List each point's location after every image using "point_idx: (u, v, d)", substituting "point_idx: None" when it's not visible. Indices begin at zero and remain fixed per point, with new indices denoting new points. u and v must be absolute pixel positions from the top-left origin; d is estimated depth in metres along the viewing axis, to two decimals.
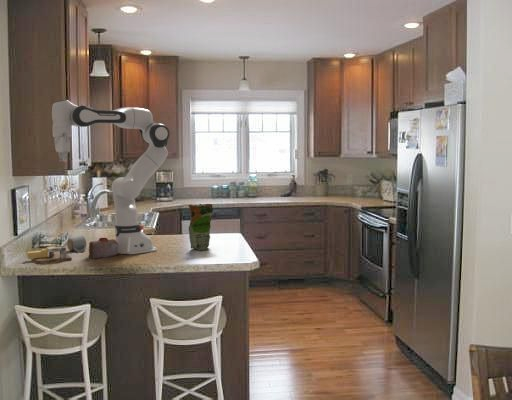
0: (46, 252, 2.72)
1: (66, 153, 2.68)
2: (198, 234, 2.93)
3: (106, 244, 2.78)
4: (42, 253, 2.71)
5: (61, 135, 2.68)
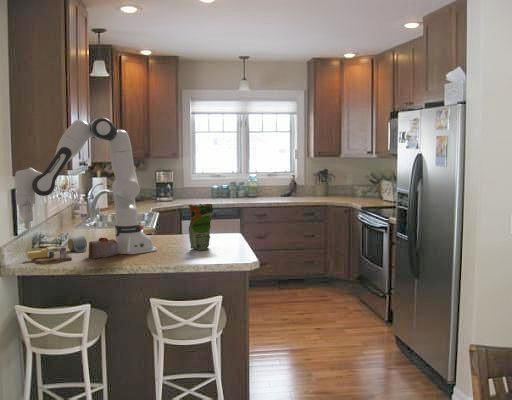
0: (46, 252, 2.72)
1: (28, 220, 2.72)
2: (198, 234, 2.93)
3: (106, 244, 2.78)
4: (42, 253, 2.71)
5: (24, 203, 2.69)
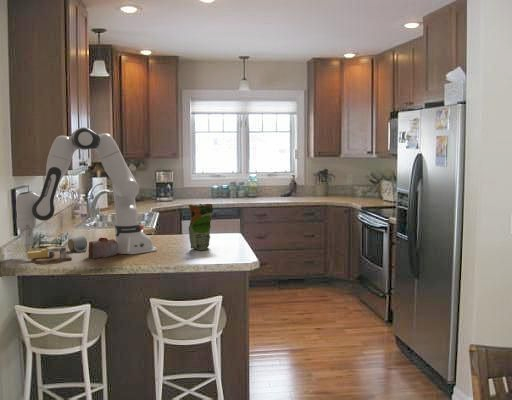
0: (46, 252, 2.72)
1: None
2: (198, 234, 2.93)
3: (106, 244, 2.78)
4: (42, 253, 2.71)
5: (25, 227, 2.70)
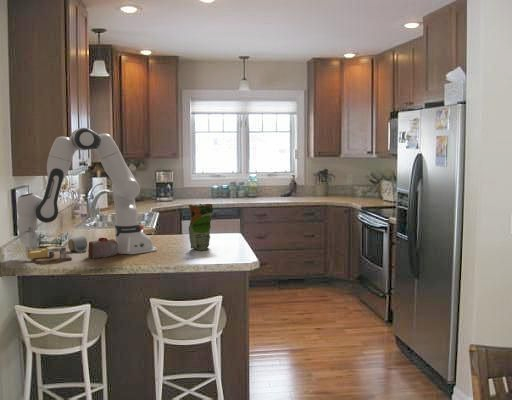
0: (46, 252, 2.72)
1: None
2: (198, 234, 2.93)
3: (105, 244, 2.78)
4: (42, 253, 2.71)
5: (27, 230, 2.67)
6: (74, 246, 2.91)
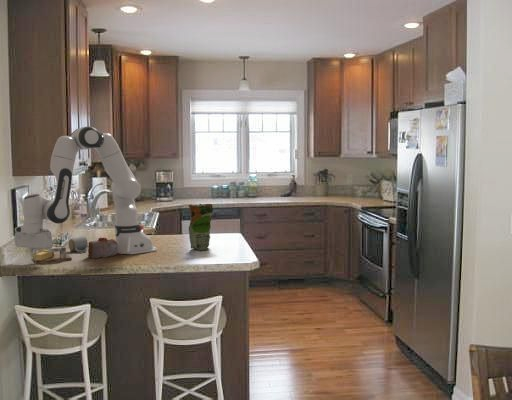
0: (51, 252, 2.72)
1: (37, 248, 2.65)
2: (198, 234, 2.93)
3: (105, 244, 2.78)
4: (49, 253, 2.70)
5: (38, 231, 2.62)
6: (74, 246, 2.91)
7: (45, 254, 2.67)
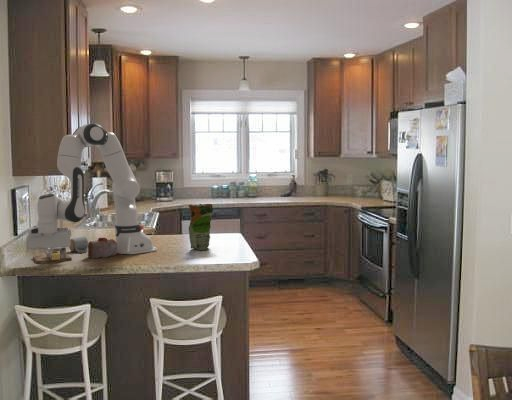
0: None
1: None
2: (198, 234, 2.93)
3: (105, 244, 2.78)
4: None
5: (57, 230, 2.64)
6: (75, 246, 2.90)
7: None
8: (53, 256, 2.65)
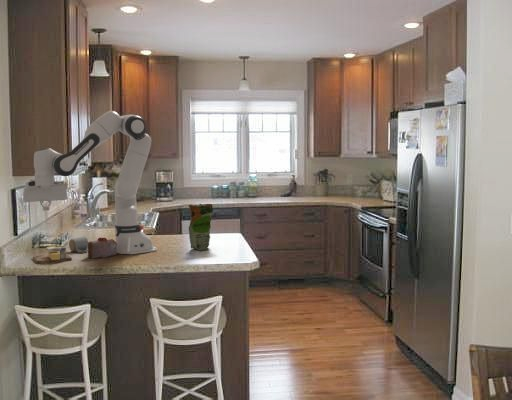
0: None
1: None
2: (198, 234, 2.93)
3: (105, 244, 2.78)
4: None
5: (54, 183, 2.69)
6: (75, 246, 2.90)
7: None
8: (53, 256, 2.65)
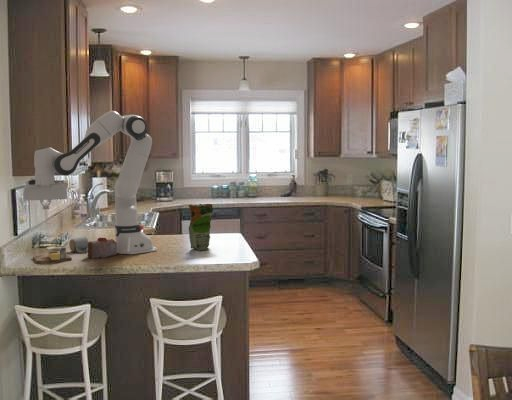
0: None
1: None
2: (198, 234, 2.93)
3: (105, 244, 2.78)
4: None
5: (54, 182, 2.69)
6: (75, 247, 2.90)
7: None
8: (53, 256, 2.65)
